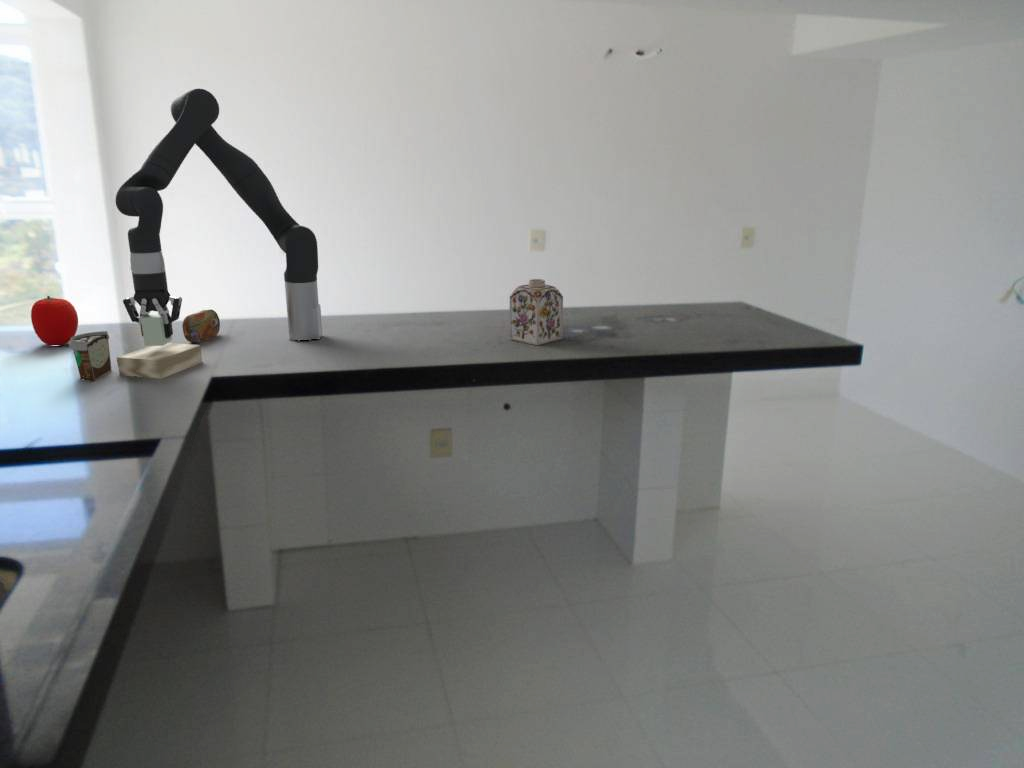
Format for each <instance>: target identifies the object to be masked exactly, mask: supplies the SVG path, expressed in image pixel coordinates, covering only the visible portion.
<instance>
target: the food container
mask: <svg viewBox="0 0 1024 768" xmlns="http://www.w3.org/2000/svg"><path fill="white" fill-rule="evenodd" d="M109 339H110V336H109V333H108V331H107V330H106V331H104V330H103V331H92V332H85V333H80V334H77V335H76V334H75V336H74V337H72V338H71V340H70V341H69V344H68V345H69V349H70V350H72V351H73V355H74V359H75V362H76V365H77V369H78V373H79V377H80V380H82V379H84V380H90V381H89V382H96V381H97V379H98V378H99V379H100V377H101V378H102V377H104V376H106V375H107V374H109V373H111V372H112V370H113V369H112V362H111V354H110V353H111V352H110V343H109ZM105 374H106V375H105ZM103 375H104V376H103ZM99 379H98V380H99ZM84 380H83V381H84ZM95 380H96V381H95Z"/></svg>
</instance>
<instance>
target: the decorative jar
mask: <svg viewBox="0 0 1024 768" xmlns="http://www.w3.org/2000/svg"><path fill="white" fill-rule="evenodd" d="M508 318H509V321H508V323H509V325H508V327H509V341H515V342H519V343H524V344H529V345H532V346H533V345H534V346H541V345H544V344H548V343H549V344H550V343H553V342H556V341H561V340H562V339H563V328H564V327H563V324H564V296H563V295H562V293H561V292H560V290H559V289H557V287H556V286H554V285H549V284H546V280H545V279H542V278H532V279H529V280H528V284H522V285H519V286H517V287H516V288H515V289H514V290H513V291H512V293H511V294H510V295H509V317H508Z"/></svg>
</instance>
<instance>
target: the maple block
mask: <svg viewBox="0 0 1024 768" xmlns="http://www.w3.org/2000/svg"><path fill="white" fill-rule="evenodd" d="M116 361H117V368H118V372H119V373H118V375H119V376H122V375H125V376H124V377H134V376H137V377H136V378H145V379H146V378H147V379H148V378H149V379H159V380H161V379H164V378H167V377H169V376H172V375H174V374H178V373H179V372H182V371H184V370H187V369H189V368H192V367H194V366H196V365H199V364H201V363H203V355H202V346H201V344H189V343H176V342H175V343H173V342H168V343H167V344H165V345H164V346H145V347H144V348H140V349H137V350H135V351H131V352H129V353H125V354H123V355H119V356H117V357H116Z"/></svg>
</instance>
